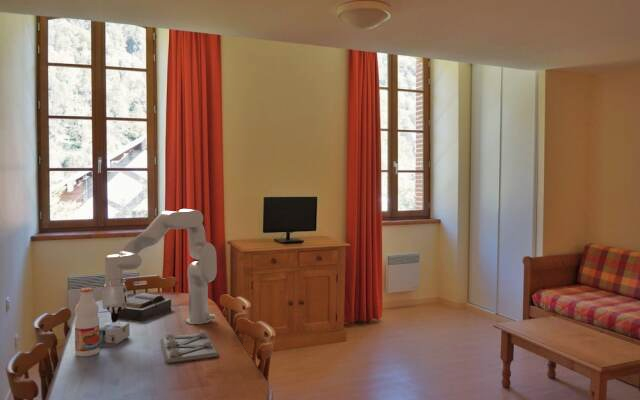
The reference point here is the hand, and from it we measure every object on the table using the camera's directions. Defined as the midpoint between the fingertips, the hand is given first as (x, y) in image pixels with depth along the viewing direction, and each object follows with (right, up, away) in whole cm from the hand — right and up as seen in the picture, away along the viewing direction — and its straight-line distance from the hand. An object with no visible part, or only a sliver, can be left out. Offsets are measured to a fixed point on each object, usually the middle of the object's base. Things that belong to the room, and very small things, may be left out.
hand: (115, 321), depth 222 cm
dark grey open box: (-3, -8, +44) cm, 45 cm away
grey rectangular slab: (+36, -11, -9) cm, 39 cm away
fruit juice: (-5, -10, -15) cm, 19 cm away
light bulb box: (+4, -6, 0) cm, 7 cm away
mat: (-4, -9, 0) cm, 10 cm away
